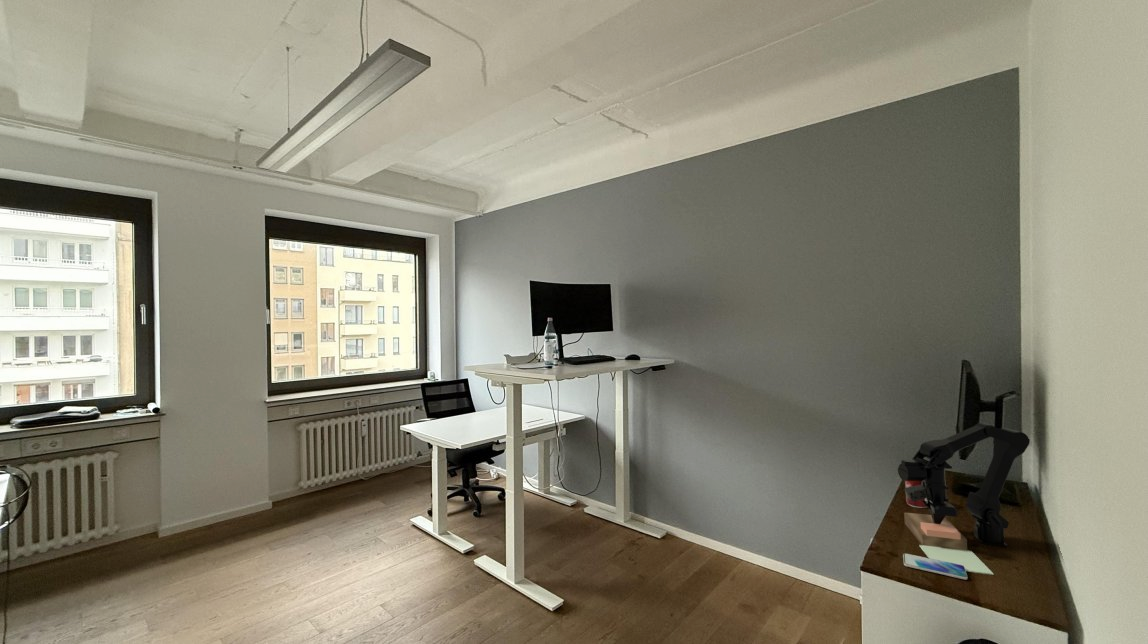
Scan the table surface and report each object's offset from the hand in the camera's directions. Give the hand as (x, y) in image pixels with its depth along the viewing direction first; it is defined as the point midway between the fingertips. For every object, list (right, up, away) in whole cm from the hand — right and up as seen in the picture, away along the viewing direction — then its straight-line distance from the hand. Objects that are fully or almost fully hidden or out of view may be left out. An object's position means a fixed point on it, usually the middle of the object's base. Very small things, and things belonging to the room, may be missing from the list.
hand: (936, 525), depth 153 cm
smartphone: (-14, -5, -17) cm, 23 cm away
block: (-2, -1, -3) cm, 4 cm away
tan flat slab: (+1, -5, +3) cm, 6 cm away
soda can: (+16, -5, +29) cm, 33 cm away
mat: (-4, -5, -12) cm, 14 cm away
